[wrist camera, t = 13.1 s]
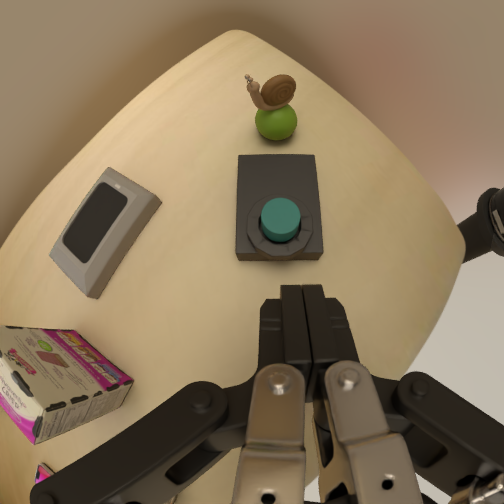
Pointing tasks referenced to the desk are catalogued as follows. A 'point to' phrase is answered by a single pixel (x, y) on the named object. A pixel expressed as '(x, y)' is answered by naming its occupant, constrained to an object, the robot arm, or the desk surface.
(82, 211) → the grey bevelled block
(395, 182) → the desk surface
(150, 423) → the robot arm
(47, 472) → the smartphone
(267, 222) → the push button
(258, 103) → the snail figurine
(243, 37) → the desk surface
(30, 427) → the candy bar box
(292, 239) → the black button base
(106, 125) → the desk surface
